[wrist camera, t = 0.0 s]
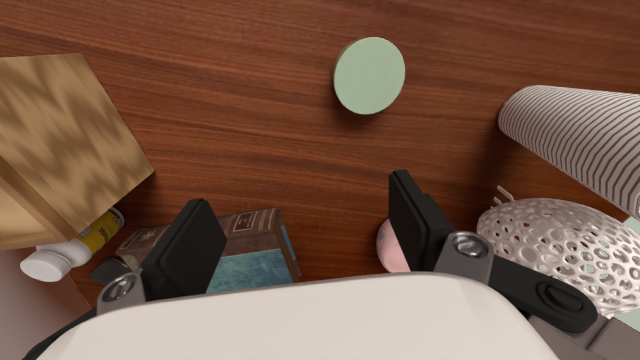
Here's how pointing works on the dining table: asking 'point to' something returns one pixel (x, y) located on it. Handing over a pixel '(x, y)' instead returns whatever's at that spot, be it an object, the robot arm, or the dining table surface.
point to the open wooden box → (59, 150)
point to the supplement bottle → (72, 249)
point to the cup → (582, 137)
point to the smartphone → (109, 271)
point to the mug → (390, 250)
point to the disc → (368, 75)
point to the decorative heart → (569, 247)
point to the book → (234, 251)
